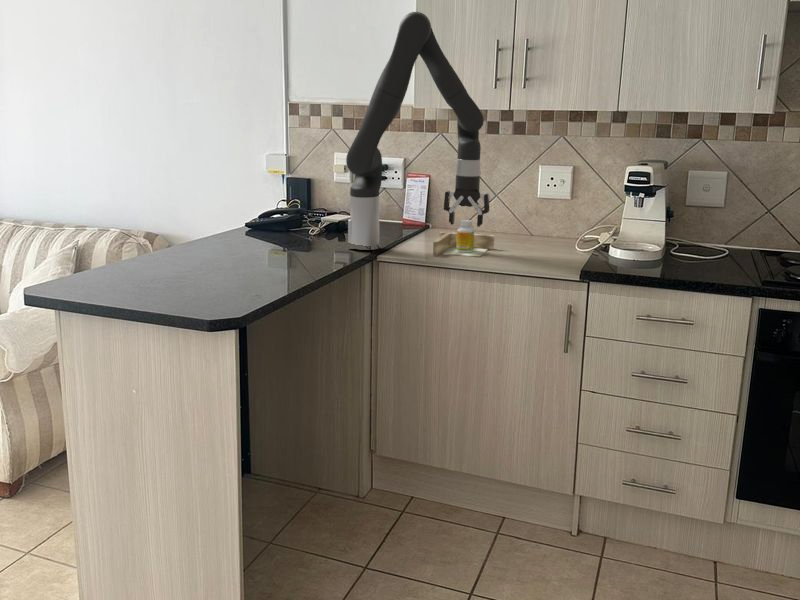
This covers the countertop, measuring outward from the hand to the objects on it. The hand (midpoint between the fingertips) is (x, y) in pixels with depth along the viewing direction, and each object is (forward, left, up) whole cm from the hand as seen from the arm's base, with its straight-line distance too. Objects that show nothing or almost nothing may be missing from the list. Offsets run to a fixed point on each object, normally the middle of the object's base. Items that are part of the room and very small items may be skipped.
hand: (465, 225), depth 251 cm
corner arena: (-1, -1, -9) cm, 9 cm away
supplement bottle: (0, 0, -9) cm, 9 cm away
